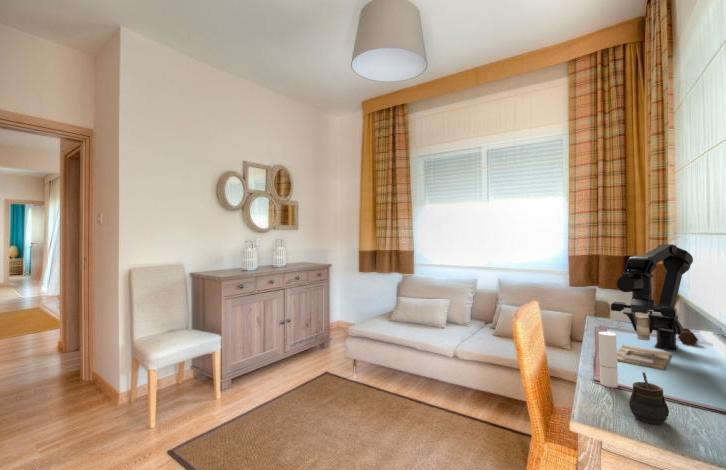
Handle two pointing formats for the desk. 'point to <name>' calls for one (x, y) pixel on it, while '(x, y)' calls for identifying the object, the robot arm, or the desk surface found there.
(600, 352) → the tube
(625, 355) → the collar
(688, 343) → the brown textured oblong piece
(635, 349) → the subfloor panel
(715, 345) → the desk surface
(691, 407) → the desk surface
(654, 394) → the mate gourd
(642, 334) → the beige rounded cylinder
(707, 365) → the desk surface
